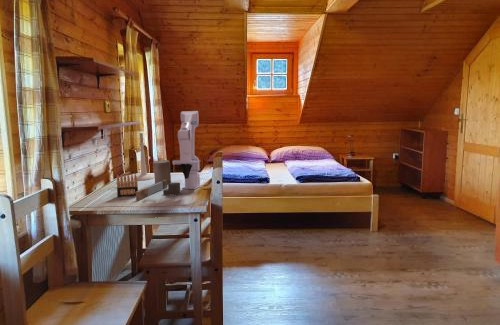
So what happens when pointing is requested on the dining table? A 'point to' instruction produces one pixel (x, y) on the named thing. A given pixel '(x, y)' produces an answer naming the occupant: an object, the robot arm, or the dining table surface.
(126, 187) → the ammunition clip
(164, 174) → the pillar candle
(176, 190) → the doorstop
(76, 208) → the dining table surface
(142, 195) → the brown wooden bar
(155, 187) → the door
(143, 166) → the candlestick
